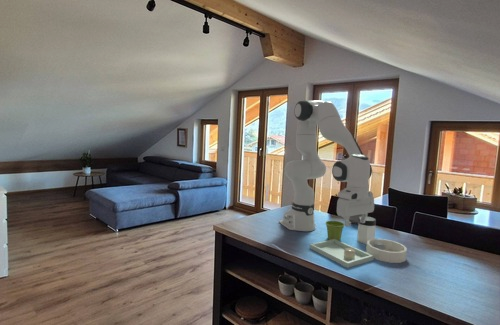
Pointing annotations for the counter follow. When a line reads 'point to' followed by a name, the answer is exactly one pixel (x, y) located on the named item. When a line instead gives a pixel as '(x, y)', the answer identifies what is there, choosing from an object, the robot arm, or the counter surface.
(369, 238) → the jar
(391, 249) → the bowl
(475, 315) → the counter surface
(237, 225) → the counter surface
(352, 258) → the stone sand
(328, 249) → the parts tray
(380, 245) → the grey ball
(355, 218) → the coffee pot
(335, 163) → the robot arm
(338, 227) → the plant pot
